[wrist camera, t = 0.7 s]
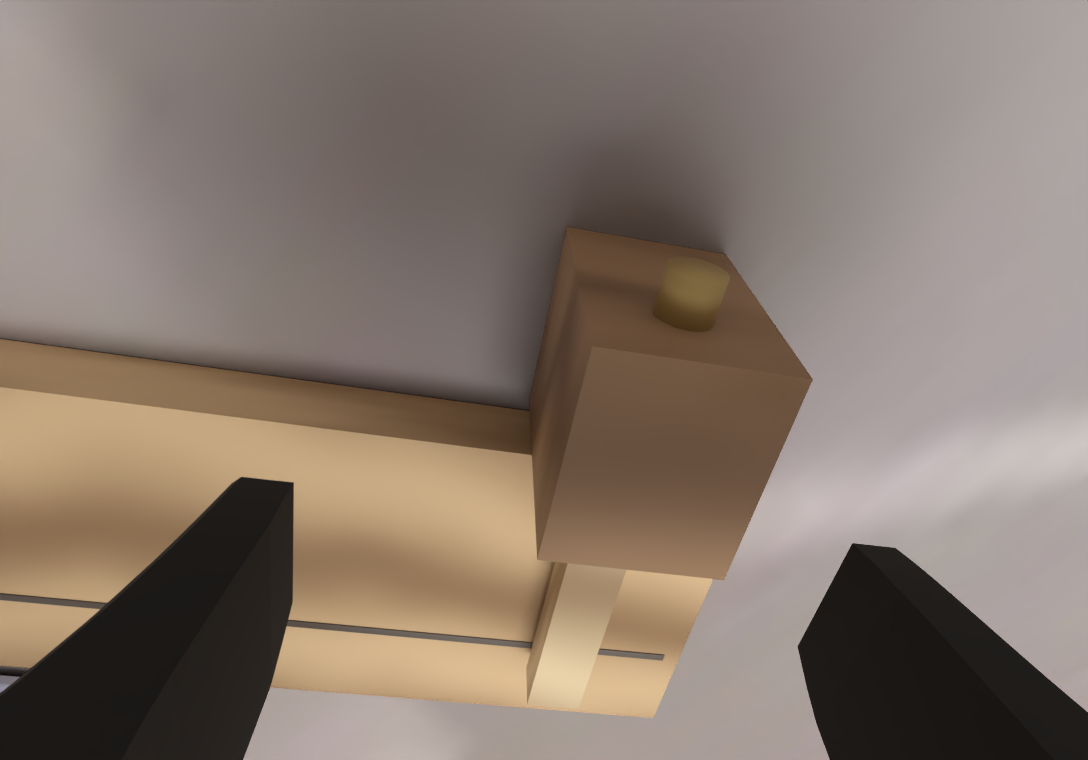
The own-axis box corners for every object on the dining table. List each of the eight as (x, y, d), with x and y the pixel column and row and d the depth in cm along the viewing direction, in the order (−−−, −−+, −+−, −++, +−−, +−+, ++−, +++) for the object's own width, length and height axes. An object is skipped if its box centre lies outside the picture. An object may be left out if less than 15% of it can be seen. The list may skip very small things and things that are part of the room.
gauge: (605, 608, 24) (632, 787, 19) (486, 596, 24) (481, 777, 19) (738, 215, 18) (834, 329, 12) (575, 185, 17) (605, 292, 12)
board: (643, 666, 26) (653, 719, 24) (-104, 599, 23) (-155, 654, 21) (733, 439, 21) (754, 484, 19) (-209, 310, 18) (-288, 351, 16)
